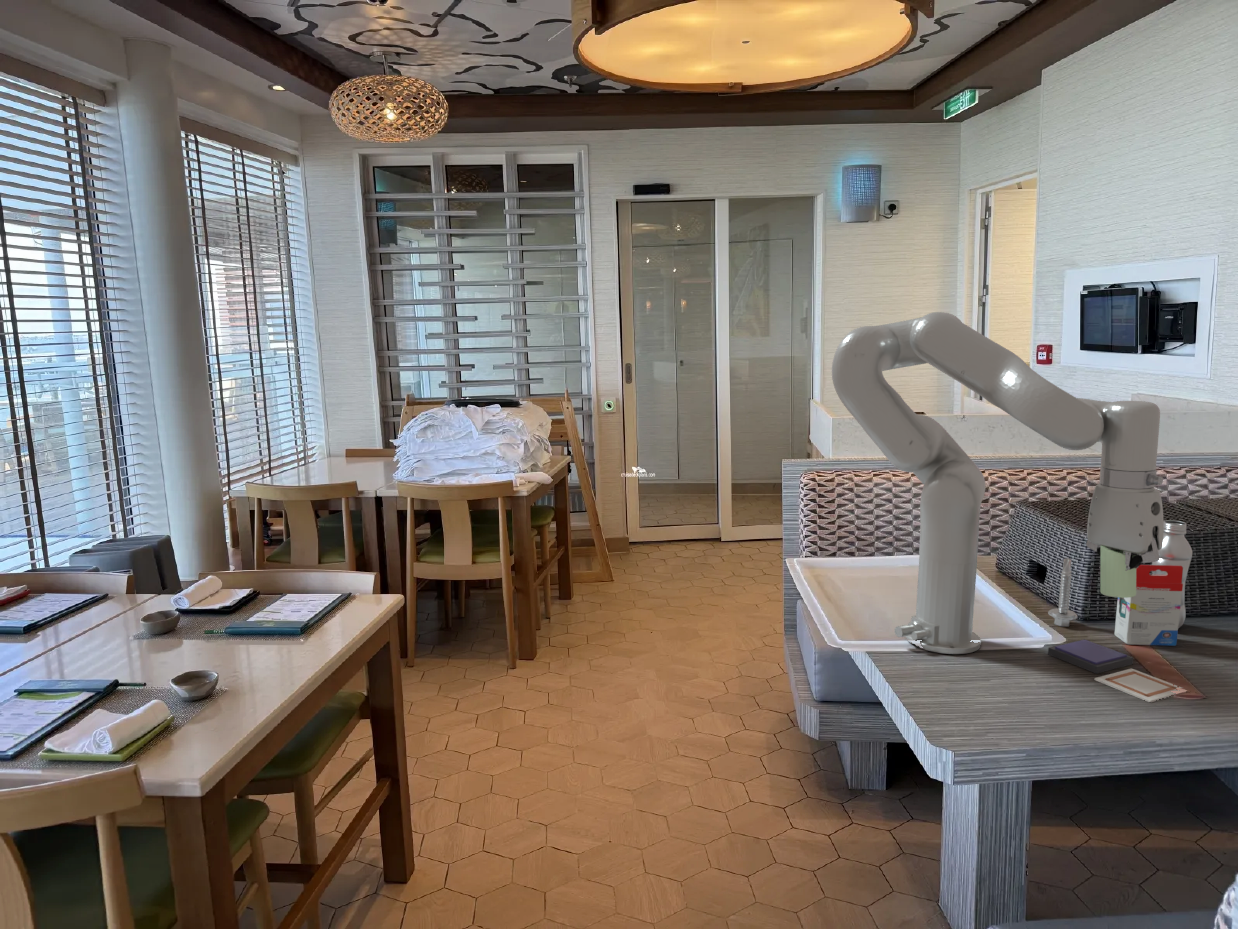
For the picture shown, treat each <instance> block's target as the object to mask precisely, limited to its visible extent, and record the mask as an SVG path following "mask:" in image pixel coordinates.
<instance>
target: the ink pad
mask: <svg viewBox="0 0 1238 929" xmlns="http://www.w3.org/2000/svg"><path fill="white" fill-rule="evenodd" d="M1047 649H1048V651H1047V654H1048V655H1049V656H1051V657H1054V658H1055V659H1056V658H1057V659H1058V660H1062V661H1064V662H1066V663H1068V664H1071V665H1073V666H1076V667H1079V668H1081V669H1083V670H1087V671H1089V672H1092V673H1094V674H1096V675H1097V674H1101V673H1103V672H1108V671H1111V670H1116V669H1120V668H1124V667H1127V666H1131V665H1133V664H1134V657H1133V656H1131V655H1127V654H1125V653H1124V652H1120V651H1117V650H1115V649H1112V648H1109V647H1106V646H1103V645H1101V644H1098V643H1095V642H1093V641H1090V640H1087V639H1085V638H1083V639H1080V640H1079V639H1078V640H1074V641H1071V642H1067V643H1063V644H1058V645H1054V646H1050V647H1048V648H1047Z"/></svg>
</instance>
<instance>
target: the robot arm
mask: <svg viewBox="0 0 1238 929" xmlns="http://www.w3.org/2000/svg"><path fill="white" fill-rule="evenodd" d="M834 352H835V353H834V355H833V359H832V363H831V379H832V383H833V387H834V389H835V394H836V395H837V396H838V398H839V400H840V402H841V403H842V405H843V406H844V407H845V409H846V410H847V411H848V412H849V414H850V415H851V416H852V417H853V418H854V419H855V420H856V422H857V423H858V424H859V425H860V427H861V428H862V429H863V430H864V432H865V433H866V435H868V437H869V438H870V440H872V442H874V444H875V445H876V446H877V448H878V449H880V451H881V453H882V454H883V456H884V457H886V458H887V460H888V461H889V463H891V465H892V466H894V468H896V469H898V470H899V471H902V472H905V473H913V475H915V476H916V478H917V479H918V480H919V481H920V482H921V484H922V485H923V486H922V490H921V494H920V500H919V501H920V502H919V512H920V513H919V515H920V516H919V519H920V520H919V523H920V524H919V526H920V528H919V531H920V532H919V549H918V551H919V552H918V571H917V572H918V575H917V589H916V608H915V615H912V616H911V621H910V622H908V624H904V625H903V624H902V625H897V626H896V627H895V628H894V634H895V636H896V637H898V638H904V637H905V639H906V638H907V639H909V640H915V641H917V640H922V641H920V644H921V646H922V647H923V649H922V650H925V651H929V652H932V653H939V654H948V655H965V654H972V653H973V652H976V651H978V650H980V648H981V646H980V642H978V643H974V642H973V641H972V642H970V641H971V640H981V641H982V638H980V636H979V635H978V634H976V633H975V632H973V627H974V626H973V625H974V624H973V623H974V611H975V610H974V608H975V598H976V597H975V596H976V594H975V593H976V584H977V582H976V581H977V568H978V567H977V566H978V550H979V533H980V516H981V507H982V501H983V499H984V496H985V492H986V479H985V476H984V475H983V474H984V473H982V471H981V469H980V468H979V467H978V465H977V464H976V463H975V462H974V460H972V458H970V456H969V455H968V454H967V452H965V450H963V448H962V447H961V446H960V445H959V444H958V443H957V441H956V440H955V439H954V438H953V436H951V434H950V433H949V432H948V431H947V430H946V429H945V428H944V427H943V425H941V424H940V423H939V422H938V421H937V420H935V419H934V418H932V417H931V416H927V415H923V414H917V413H916V412H915V411H914V410H913V409H912V408H911V407H910V406H909V405H908V403H906V401H905V400H904V398H902V396H901V395H900V394H899V393H898V391H896V389H895V388H894V387H892V386H891V385H890V383H889V382H887V380H886V379H885V377H884V374H883V372H885V371H890V370H895V369H901V368H906V367H907V368H909V367H914V366H920V365H924V364H929V365H930V366H932V367H933V368H935V369H937V370H939V372H941V373H944V374H945V375H947V376H949V377H950V378H952V379H953V380H955V381H957V382H959V383H960V384H962V385H963V386H964V387H966V388H968V389H969V390H970V391H973V393H975V394H977V395H978V396H980V397H982V398H983V399H985V400H986V401H987V402H988V403H990V404H991V405H993V406H995V407H997V408H998V409H1000V410H1002V411H1004V412H1005V413H1006V414H1008V415H1009V416H1011V418H1014V420H1017V421H1018V422H1020V423H1021V424H1023V425H1024V426H1025V427H1028V428H1029V429H1030V430H1032V431H1034V432H1035V433H1037V434H1039V435H1040V436H1042V437H1043V438H1045V439H1047V440H1048V441H1050V442H1052V443H1053V444H1055V445H1057V446H1059V447H1061V448H1063V449H1065V450H1068V451H1082V450H1086V449H1089V448H1090V447H1093V446H1094V445H1096V444H1097V443H1101V454H1100V456H1101V457H1100V471H1099V483H1098V484H1095V487H1094V490H1093V494H1092V497H1091V501H1090V505H1089V511H1088V516H1087V517H1088V518H1087V523H1086V524H1087V525H1086V532H1087V533H1086V536H1087V541H1086V543H1085V546H1086V547H1087V548H1088V549H1090V550H1092V551H1094V552H1095V553H1097V554H1098V556H1100V546H1101V545H1102V546H1105V547H1106V548H1108V549H1110V550H1117V551H1118V550H1121V551H1124V552H1123V554H1124V555H1125V564H1126V565H1127V566H1126V568H1127V570H1130V569H1133V568H1138V567H1139V566H1140V565H1144V564H1146V563H1152V562H1155V561H1159V559H1160V557H1159V553H1158V550H1160V549H1161V548H1162V546H1163V533H1164V532H1163V531H1164V523H1163V522H1164V508H1163V506H1164V505H1163V500H1162V496H1161V491H1160V489H1159V490H1158V489H1155V488H1156V486H1161V485H1162V484H1163V482H1164V478H1163V476H1158V475H1157V470H1156V469H1157V460H1158V457H1157V456H1158V446H1159V433H1160V424H1161V423H1160V422H1161V420H1160V419H1161V411H1160V408H1159V406H1158V404H1157V403H1154V402H1150V401H1144V400H1118V401H1104V400H1103V401H1102V400H1096V399H1089V398H1088V399H1087V398H1082V397H1081V398H1078V397H1076V396H1074V395H1073V394H1070V393H1068V392H1067V391H1066V390H1063V389H1062V388H1060V387H1059V386H1057V385H1055V384H1054V383H1052V382H1050V381H1049V380H1047V379H1046V378H1044V376H1042V375H1040V374H1039V373H1037V372H1036V371H1035V370H1034V369H1033V368H1031V367H1030V366H1029V365H1028V364H1027V363H1026V361H1024V360H1023V359H1022V358H1021V357H1020V356H1018V355H1017V354H1015V353H1014V352H1012V351H1011V350H1009V349H1008V348H1006V347H1004V346H1002V345H1000V344H999V343H997V342H996V341H993V340H992V339H991V338H989V337H987V336H985V335H983V334H982V333H981V332H978V331H976V330H975V329H973V328H972V327H970V326H968V325H967V324H965V323H964V322H962V320H961V319H960V318H958V317H957V315H954V314H952V313H949V312H942V311H935V312H930V313H927V314H925V315H924V316H922V317H920V316H919V317H916V318H913V319H906V320H902V321H896V322H890V323H885V324H879V325H864V326H860V327H857V328H854V329H853V330H851V331H849V332H848V333H847V334H846V335H845V336H844V337H843V338H842V340H840V342H839V344H838V346H837V348H836V351H834ZM1133 555H1136V556H1134V557H1133V558H1132V556H1133ZM1127 570H1125V571H1127ZM907 639H906V640H907Z"/></svg>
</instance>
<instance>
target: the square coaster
mask: <svg viewBox="0 0 1238 929" xmlns="http://www.w3.org/2000/svg"><path fill="white" fill-rule="evenodd" d="M1094 681H1096V682H1098V683H1100V684H1103V685H1106V686H1108V687H1111V688H1113V689H1116V690H1118V691H1120V692H1123V693H1125V694H1128V695H1130V696H1132V697H1135V698H1138V699H1140V700H1143V701H1144V700H1145V702H1148V703H1149V702H1151V703H1154V702H1157V701H1160V700H1159V699H1161V700H1163V699H1162V698H1164V699H1167V698H1166V697H1168V698H1170V697H1169V696H1171V695H1174V694H1176V693H1173V692H1171V691H1178V690H1176V688H1178V687H1177V686H1178V685H1176V684H1174V683H1171V682H1168V681H1166V680H1164V679H1161V678H1158V677H1155V676H1152V675H1150V674H1147V673H1145V672H1142V671H1139V670H1137V669H1135V668H1128V669H1124V670H1121V671H1117V672H1112V673H1110V674H1109V673H1108V674H1105V675H1102V676H1098V677H1094ZM1173 684H1174V686H1173ZM1179 688H1183V687H1181V686H1179ZM1179 691H1180V690H1179ZM1174 696H1175V695H1174ZM1171 697H1172V696H1171ZM1156 700H1157V701H1156Z"/></svg>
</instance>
